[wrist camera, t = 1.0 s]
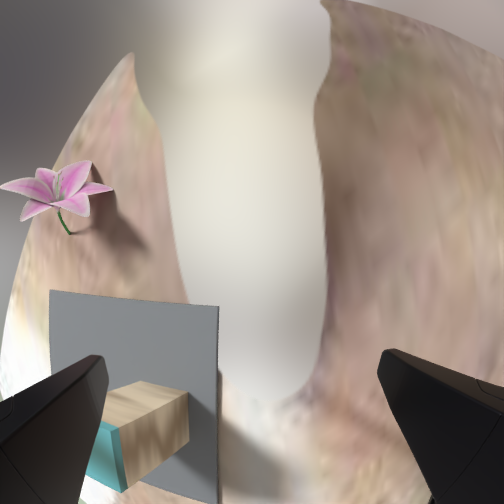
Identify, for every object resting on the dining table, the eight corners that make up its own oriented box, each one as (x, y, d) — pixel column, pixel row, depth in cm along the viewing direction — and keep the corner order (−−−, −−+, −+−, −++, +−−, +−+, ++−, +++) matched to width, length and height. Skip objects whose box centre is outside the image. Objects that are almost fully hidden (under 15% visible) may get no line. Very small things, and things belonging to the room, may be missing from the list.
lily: (129, 249, 28) (91, 176, 20) (37, 285, 26) (-15, 229, 18) (120, 179, 35) (95, 115, 27) (44, 211, 33) (11, 157, 25)
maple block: (189, 441, 22) (121, 493, 13) (143, 427, 24) (69, 464, 14) (188, 391, 23) (110, 431, 13) (140, 380, 24) (58, 406, 15)
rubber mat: (218, 503, 21) (216, 505, 20) (63, 439, 27) (61, 440, 27) (219, 306, 24) (217, 306, 23) (52, 289, 30) (49, 289, 29)
